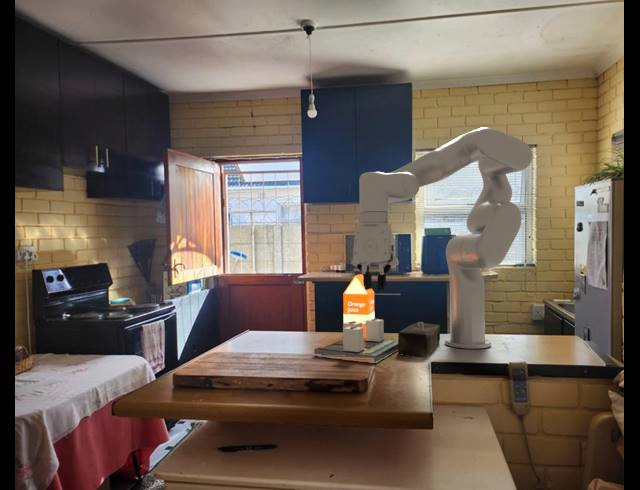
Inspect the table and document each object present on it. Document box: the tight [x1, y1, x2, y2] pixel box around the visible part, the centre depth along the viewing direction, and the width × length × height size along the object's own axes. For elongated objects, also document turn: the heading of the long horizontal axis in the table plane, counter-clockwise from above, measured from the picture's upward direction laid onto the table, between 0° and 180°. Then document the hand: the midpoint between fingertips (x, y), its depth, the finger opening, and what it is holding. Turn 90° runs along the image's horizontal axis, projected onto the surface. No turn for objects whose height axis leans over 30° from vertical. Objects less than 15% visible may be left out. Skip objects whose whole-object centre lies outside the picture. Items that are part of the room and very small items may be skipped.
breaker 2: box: [365, 317, 385, 342], centre depth 129 cm, size 4×4×6 cm
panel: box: [313, 336, 398, 362], centre depth 123 cm, size 19×17×2 cm
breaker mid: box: [342, 321, 362, 329], centre depth 124 cm, size 4×4×6 cm
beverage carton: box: [397, 321, 441, 359], centre depth 127 cm, size 8×19×7 cm, turn 155°
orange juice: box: [342, 273, 376, 338], centre depth 139 cm, size 8×9×20 cm
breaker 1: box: [342, 326, 364, 352], centre depth 117 cm, size 4×4×6 cm
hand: (374, 288), depth 121 cm, fingers open, 3 cm apart
